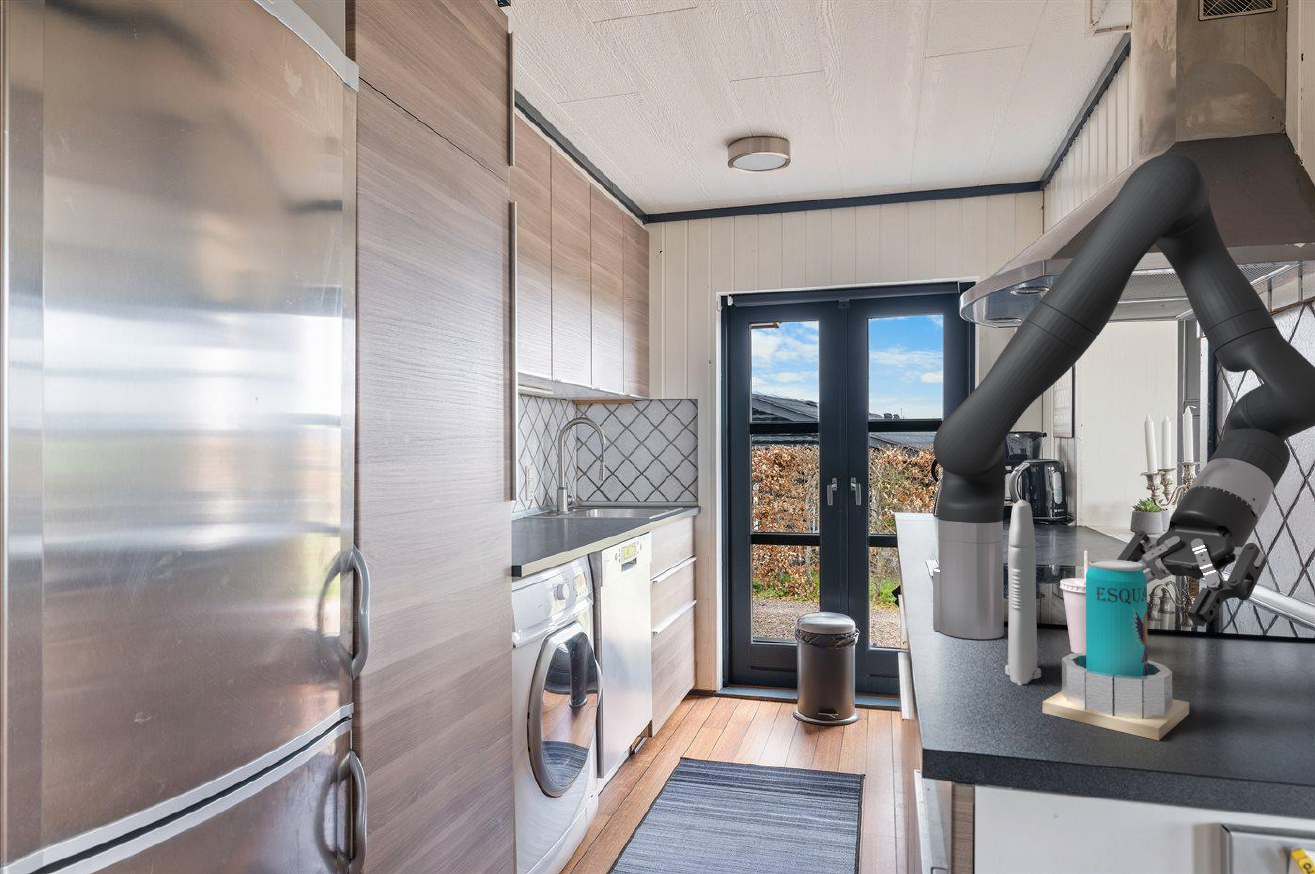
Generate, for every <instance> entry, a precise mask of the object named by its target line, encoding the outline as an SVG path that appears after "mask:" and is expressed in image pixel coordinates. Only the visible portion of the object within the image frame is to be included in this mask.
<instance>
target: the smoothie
mask: <svg viewBox="0 0 1315 874" xmlns="http://www.w3.org/2000/svg"><path fill="white" fill-rule="evenodd" d="M1083 552H1084V553H1083V554H1084V557H1083V558H1084V559H1083V561H1084V562H1083V563H1084V567H1083V568H1084V570H1083V571H1084V573H1083V575H1084V578H1077V577H1076V578H1074V577H1073V578H1072V577H1071V578H1063V579H1061V580H1060V583H1059V584H1060V585H1059V588H1060V589H1062V594H1063V601H1064V608H1065V616H1066V622H1067V629H1068V630H1067V631H1068V637H1069V644H1070V645H1069V646H1070V651H1071V652H1072V653H1073V654H1074V653H1086V573H1087V571H1088V569H1089V567H1090V565H1089V561H1090V552H1089V550H1087V549H1085V550H1083Z"/></svg>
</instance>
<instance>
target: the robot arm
mask: <svg viewBox="0 0 1315 874" xmlns="http://www.w3.org/2000/svg"><path fill="white" fill-rule="evenodd" d="M1153 246H1156V247H1157V248H1158V250H1159V251H1160V252H1161V253H1162V254H1163V256H1164V257H1165V259H1166V260H1167V262H1169V265H1170V266H1171V267H1172V269H1173V271H1174V272H1175V274H1176V276H1177V277H1178V279H1179V281H1180V283H1181V285H1182V287H1183V290H1184V293H1185V294H1186V297H1187V299H1188V302H1189V304H1190V307H1191V309H1192V312H1193V314H1194V316H1195V318H1196V321H1197V323H1198V325H1199V326H1200V330H1201V331H1202V332H1203V335H1204V336H1205V338H1206V340H1207V343H1208V344H1209V345H1210V348H1211V350H1212V352H1213V353H1214V355H1215V357H1216V359H1217V360H1218V362H1219V364H1220V365H1221V366H1222V368H1223V369H1224V370H1225V371H1227V372H1229V373H1241V372H1247V371H1252V372H1253V373H1254V374H1255V375H1256V376H1257V377H1258V378H1259V379H1260V380H1261V382H1263V383H1262V384H1261V385H1258V386H1256V387H1255V388H1253V389H1252V390H1249V391H1248V392H1246V393H1245V394H1243V396H1241V397H1240V398H1239V399H1238V400H1237V401H1236V403H1235V404H1234V405H1233V407H1232V408H1231V409H1230V411H1229V414H1228V416H1227V418H1226V422H1225V426H1224V429H1223V434H1222V441H1221V442H1220V443H1219V444H1218V446H1217V447H1216V449H1215V451H1214V453H1213V454H1212V456H1211V457H1210V458H1209V461H1208V462H1207V464H1206V465H1205V466H1204V468H1202V470H1200V472H1198V474H1196V475H1197V476H1196V477H1195V478H1194V480H1193V481H1192V483H1191V484H1190V486H1189V487H1188V489H1187V491H1186V492H1185V493H1184V496H1183V497H1182V499H1181V500H1180V501H1179V504H1177V506H1176V508H1175V509H1174V511H1173V513H1172V515H1171V516H1170V518H1169V524H1168V527H1167V528H1168V529H1167V531H1166V532H1164V533H1163V534H1162V535H1161V536H1159V537H1156V536H1155V537H1153V536H1150V535H1148V534H1147V532H1146V531H1145V530H1139V531H1137V532H1136V533H1135V534H1134V535H1133V537H1132V538H1131V539H1130V541H1129V542H1128V544H1127V545H1126V546H1125V548H1124V549H1123V551H1121V553H1120V555H1119V556H1118V557H1117V559H1116V560H1122V561H1131V562H1136V563H1140V564H1142V565H1143V566H1144V567H1143V569H1142V570H1143V571H1146V570H1148V569H1149V570H1148V571H1146V572H1144V575H1145V577H1146V579H1147V585H1148V584H1149V583H1151V582H1153V581H1155V580H1160V581H1162V580H1164V579H1166V578H1168V577H1170V576H1173V577H1174V576H1176V577H1188V578H1191V579H1195V580H1201V578H1204V580H1205V582H1206V585H1207V587H1202V588H1201V589H1200V591H1199V593H1198V594H1197V596H1196V598H1195V599H1194V601H1193V603H1192V605H1191V606H1190V608H1189V610H1188V612H1187V616H1188V618H1189V619H1190V620H1191V623H1193V625H1195V626H1198V627H1202V628H1203V627H1205V626H1206V624H1207V623H1210V622H1211V621H1213V620H1214V618H1215V616H1216V615H1217V613H1218V611H1219V610H1220V608H1221V606H1222V605H1223V603H1224V602H1227V601H1228V600H1230V599H1235V598H1237V599H1238V600H1239V601H1247V600H1249V599H1250V598H1251V596H1252V594H1253V591H1254V589H1255V587H1256V585H1257V583H1258V581H1259V580H1260V577H1261V575H1262V573H1263V570H1264V569H1265V567H1266V565H1267V562H1268V560H1267V558H1266V557H1265V554H1264V553H1263V551H1262V550H1261V549H1260V547H1259V546H1258V545H1257V544H1256V543H1255V542H1249V543H1247V541H1248V540H1249V538H1250V536H1251V535H1252V533H1253V532H1254V530H1255V528H1256V527H1257V525H1258V523H1259V521H1260V519H1261V518H1262V517H1263V515H1264V513H1265V511H1266V509H1267V507H1268V505H1269V503H1270V501H1271V497H1272V494H1273V493H1274V491H1275V489H1276V487H1277V485H1278V483H1279V482H1280V481H1281V479H1282V477H1283V475H1284V473H1285V472H1286V470H1287V468H1288V466H1289V463H1290V460H1291V453H1290V448H1289V447H1288V445H1287V443H1286V440H1288V439H1289V438H1291V437H1293V436H1295V435H1298V434H1299V433H1302V432H1304V431H1306V430H1308V429H1311V428H1313V427H1315V366H1314V364H1312V363H1311V362H1310V361H1309V360H1308V359H1307V358H1306V357H1305V356H1304V355H1302V353H1300V351H1299V350H1297V349H1296V348H1295V347H1294V346H1293V345H1292V344H1290V343H1289V342H1288V341H1287V340H1286V339H1285V338H1284V336H1283V335H1282V333H1281V332H1280V329H1279V328H1278V326H1277V324H1276V322H1275V321H1274V319H1273V316H1272V315H1271V314H1270V311H1269V310H1268V308H1267V306H1266V305H1265V303H1264V302H1263V300H1262V298H1261V297H1260V295H1259V293H1258V292H1257V290H1256V288H1254V286H1253V285H1252V283H1251V282H1250V281H1249V279H1248V278H1247V276H1246V275H1245V274H1244V273H1243V271H1242V270H1241V269H1240V267H1239V266H1238V264H1237V263H1236V262H1235V260H1234V258H1233V257H1232V255H1231V254H1230V252H1229V250H1228V249H1227V246H1226V245H1225V243H1224V241H1223V238H1222V236H1221V234H1220V231H1219V229H1218V226H1217V223H1216V219H1215V217H1214V213H1213V210H1212V206H1211V203H1210V192H1209V187H1208V185H1207V181H1206V178H1205V175H1204V173H1203V171H1202V168H1201V167H1200V165H1199V164H1198V163H1197V162H1196V161H1195V160H1194V159H1193V158H1192V157H1190V156H1189V155H1186V154H1184V153H1179V152H1167V153H1162V154H1159V155H1156V156H1153V157H1152V158H1150V159H1148V160H1146V161H1145V162H1143V163H1142V164H1140V165H1139V166H1138V167H1137V168H1136V169H1135V170H1134V171H1132V173H1131V174H1130V175H1129V176H1128V178H1127V179H1126V180H1125V183H1124V184H1123V185H1122V187H1121V188H1120V190H1119V191H1118V193H1117V195H1116V197H1115V198H1114V200H1113V201H1112V203H1111V204H1110V206H1109V208H1108V210H1107V211H1106V213H1105V214H1104V215H1103V217H1102V219H1101V221H1100V222H1099V224H1098V225H1097V226H1096V228H1095V229H1094V231H1093V233H1092V234H1091V235H1090V237H1089V238H1088V240H1087V241H1086V242H1085V244H1083V246H1082V247H1081V249H1079V251H1078V252H1077V253H1076V254H1075V256H1074V257H1073V259H1072V260H1070V262H1069V264H1068V265H1066V267H1065V268H1064V269H1063V271H1062V272H1061V273H1060V275H1059V276H1058V277H1057V278H1056V280H1055V281H1054V282H1053V284H1052V285H1051V286H1050V287H1049V288H1048V290H1047V291H1046V292H1045V293H1044V294H1043V296H1042V297H1041V298H1040V299H1039V301H1038V302H1036V304H1035V305H1034V307H1033V308H1032V309H1031V311H1030V313H1028V315H1027V316H1026V317H1025V319H1024V320H1023V321H1022V322H1021V324H1020V325H1019V326H1018V329H1017V330H1016V331H1015V333H1014V334H1013V336H1012V337H1011V339H1010V340H1009V341H1008V343H1007V344H1006V345H1005V347H1004V348H1003V350H1002V351H1001V353H1000V354H999V356H998V357H997V359H996V360H995V362H994V363H993V365H992V367H991V368H990V369H989V371H988V373H987V374H986V375H985V377H984V378H983V379H982V380H981V382H980V383H979V384H978V386H977V387H976V388H975V389H974V390H973V391H972V392H971V393H970V394H969V395H968V397H967V398H966V399H964V401H963V402H962V403H961V404H960V405H959V406H958V407H957V408H956V409H955V410H954V411H953V412H951V414H950V415H949V416H948V417H947V418H946V419H945V420H943V421H944V422H942V424H941V425H940V426H939V427H938V429H937V431H936V432H935V435H934V439H933V444H932V446H933V447H932V448H933V456H934V458H935V461H936V462H937V464H938V465H939V466H940V467H941V468H942V488H941V494H940V497H939V500H938V503H937V518H938V520H937V523H938V524H937V533H938V534H937V535H938V537H937V538H938V539H937V540H938V544H937V545H938V546H937V547H938V548H937V549H938V551H937V552H938V557H937V558H938V566H937V567H934V568H933V570H932V604H933V605H932V610H933V611H932V612H933V613H932V616H933V617H932V620H933V622H932V623H933V624H932V627H933V631H936V632H940V633H942V634H945V635H947V636H951V637H955V638H961V639H972V640H993V639H999V638H1002V637H1003V636H1004V634H1005V633H1004V632H1005V631H1004V630H1005V629H1004V625H1005V619H1004V617H1005V616H1004V614H1005V613H1004V608H1005V607H1004V523H1003V522H1004V521H1003V520H1004V507H1005V506H1004V504H1005V500H1006V499H1005V498H1006V472H1007V471H1006V468H1007V467H1006V466H1007V465H1006V463H1007V461H1006V459H1007V457H1006V456H1007V453H1006V452H1007V451H1006V450H1007V449H1006V441H1005V439H1006V438H1007V436H1008V435H1010V434H1009V433H1010V432H1011V430H1012V429H1013V428H1014V426H1015V425H1016V423H1017V422H1018V420H1020V418H1021V416H1023V414H1024V413H1025V412H1026V410H1027V409H1028V408H1029V407H1030V406H1031V405H1032V404H1033V403H1034V402H1035V401H1036V400H1037V399H1038V398H1039V397H1041V395H1043V394H1044V393H1046V391H1048V390H1049V389H1050V388H1051V387H1052V386H1053V385H1054V384H1056V383H1057V382H1058V381H1059V379H1061V378H1062V377H1063V376H1064V375H1065V374H1066V373H1067V372H1068V371H1069V370H1070V369H1071V368H1072V367H1073V366H1074V365H1075V364H1076V362H1078V361H1079V360H1080V359H1081V357H1082V356H1083V355H1084V354H1085V352H1086V351H1087V350H1088V349H1089V348H1090V347H1091V345H1092V344H1093V343H1094V341H1095V340H1096V339H1097V337H1098V336H1099V335H1100V334H1101V332H1102V331H1103V330H1104V329H1105V327H1106V325H1107V324H1108V322H1109V321H1110V319H1111V317H1112V315H1113V313H1114V312H1115V310H1116V308H1117V306H1118V304H1119V302H1120V299H1121V297H1122V295H1123V294H1124V291H1125V289H1126V286H1127V284H1128V283H1129V280H1130V278H1131V276H1132V274H1133V272H1134V271H1135V269H1136V268H1137V266H1138V265H1139V263H1140V262H1141V260H1142V259H1143V258H1144V257H1145V256H1146V254H1147V253H1148V252H1149V250H1151V249H1152V247H1153ZM1159 559H1160V561H1161V564H1162V567H1158V566H1157V564H1156V561H1157V560H1159ZM1234 562H1235V564H1234V566H1233V568H1232V570H1231V572H1230V574H1229V577H1228V579H1227V580H1225V577H1224V575H1223V573H1222V569H1224V568H1226V567H1227V566H1229V565H1231V564H1232V563H1234Z"/></svg>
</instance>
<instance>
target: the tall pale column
mask: <svg viewBox="0 0 1315 874" xmlns="http://www.w3.org/2000/svg"><path fill="white" fill-rule="evenodd" d="M1032 510H1033V509H1032V506H1031V503H1030V502H1028V501H1026V500H1024V499H1020V500H1018V501H1016V503H1014V504H1012V508H1011V516H1010V526H1009V529H1008V530H1009V531H1008V547H1007V549H1008V551H1007V558H1008V559H1007V563H1008V564H1007V565H1008V566H1007V571H1008V577H1007V578H1008V625H1007V626H1008V630H1007V631H1008V639H1007V641H1008V642H1007V646H1008V647H1007V661H1008V662H1007V664H1006V665H1005V666H1004V672H1005V673H1004V674H1006V675H1008V676H1009V677H1010V682H1011V683H1012V684H1013V685H1016V686H1025V685H1028V684H1029V683H1030V682H1032V681H1033V680H1035V679H1036V680H1037V679H1039V678H1041V677H1042V670H1041V668H1039V667H1038V636H1037V635H1038V629H1037V566H1036V565H1037V562H1036V561H1037V557H1036V556H1037V554H1036V553H1037V552H1036V551H1037V550H1036V533H1035V525H1034V520H1033V511H1032Z"/></svg>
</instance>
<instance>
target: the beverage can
mask: <svg viewBox="0 0 1315 874" xmlns="http://www.w3.org/2000/svg"><path fill="white" fill-rule="evenodd" d="M1143 567H1144V566H1143V565H1142V564H1140V563H1136V562H1131V561H1122V560H1117V559H1092V560H1089V569H1088V571H1087V573H1086V669H1089V670H1091V671H1096V672H1101V673H1107V674H1112V675H1122V676H1136V677H1138V676H1148V660H1149V659H1148V584H1147V579H1146V577H1145V575H1144V573H1145V572H1144V570H1142V569H1143Z"/></svg>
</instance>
